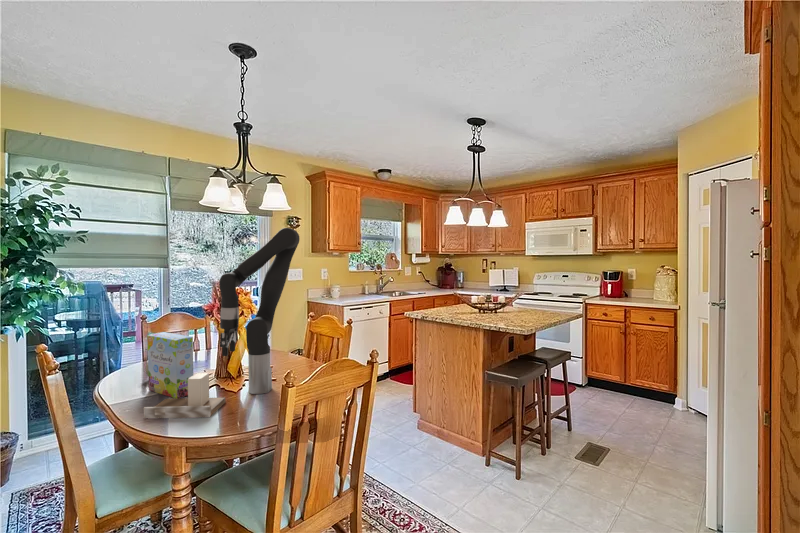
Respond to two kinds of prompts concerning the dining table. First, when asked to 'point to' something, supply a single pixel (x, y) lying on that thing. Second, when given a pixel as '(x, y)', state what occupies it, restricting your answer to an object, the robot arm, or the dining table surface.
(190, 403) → the product box
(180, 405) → the shelf plank
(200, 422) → the dining table surface
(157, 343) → the snack box
